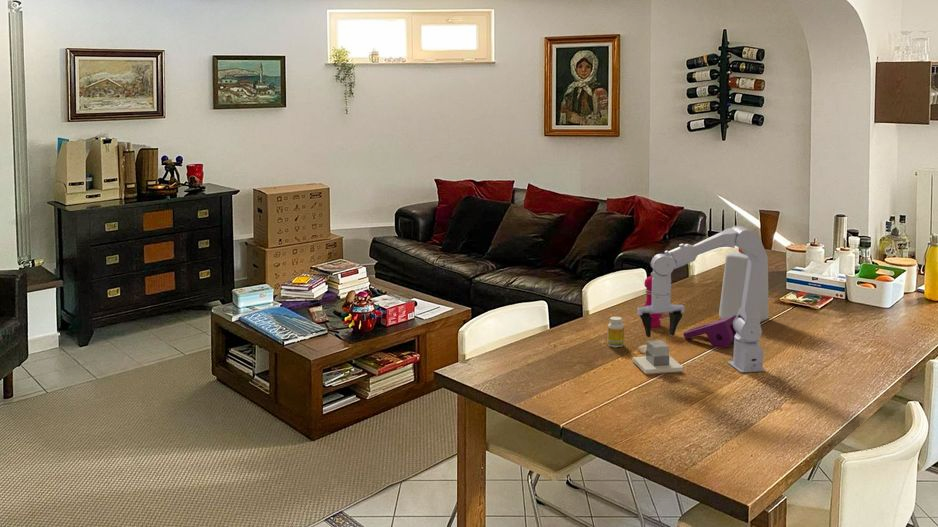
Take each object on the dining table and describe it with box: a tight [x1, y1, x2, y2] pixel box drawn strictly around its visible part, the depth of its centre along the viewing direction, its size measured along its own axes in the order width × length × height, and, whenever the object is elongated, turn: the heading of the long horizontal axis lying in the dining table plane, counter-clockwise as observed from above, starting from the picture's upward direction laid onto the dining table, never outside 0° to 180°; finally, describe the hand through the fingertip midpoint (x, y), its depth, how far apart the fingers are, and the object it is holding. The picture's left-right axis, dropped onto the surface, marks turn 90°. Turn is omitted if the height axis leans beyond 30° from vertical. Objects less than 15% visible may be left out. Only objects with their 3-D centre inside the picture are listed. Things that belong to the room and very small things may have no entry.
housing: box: [645, 339, 671, 366], centre depth 253 cm, size 7×5×6 cm
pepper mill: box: [642, 271, 663, 328], centre depth 296 cm, size 7×7×20 cm
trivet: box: [632, 354, 684, 376], centre depth 254 cm, size 12×12×2 cm
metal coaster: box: [637, 344, 647, 355], centre depth 270 cm, size 9×9×1 cm
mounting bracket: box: [682, 315, 737, 349], centre depth 278 cm, size 9×8×18 cm
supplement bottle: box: [606, 316, 625, 348], centre depth 276 cm, size 5×5×10 cm
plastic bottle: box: [718, 248, 770, 323], centre depth 301 cm, size 15×15×28 cm
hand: (660, 335), depth 252 cm, fingers open, 7 cm apart
